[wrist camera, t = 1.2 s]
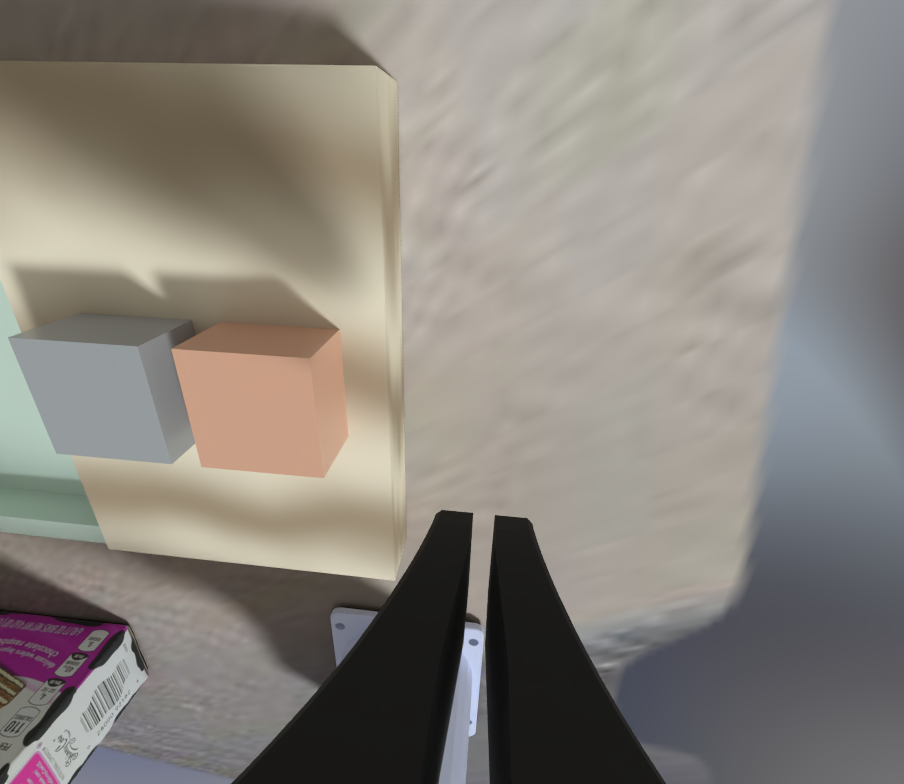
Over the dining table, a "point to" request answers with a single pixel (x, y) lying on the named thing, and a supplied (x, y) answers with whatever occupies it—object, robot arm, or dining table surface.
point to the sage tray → (34, 460)
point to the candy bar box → (60, 692)
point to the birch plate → (222, 274)
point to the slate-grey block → (109, 385)
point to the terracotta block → (265, 397)
